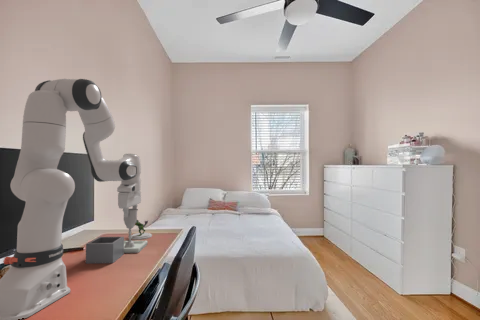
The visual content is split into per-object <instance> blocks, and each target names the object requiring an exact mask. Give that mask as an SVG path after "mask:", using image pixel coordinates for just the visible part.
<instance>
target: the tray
mask: <svg viewBox="0 0 480 320" xmlns="http://www.w3.org/2000/svg"><path fill="white" fill-rule="evenodd" d="M128 241H129V240H124V246H125V244H126V242H128ZM132 241H133V242H134V245H135V247H133V248H124V254H135V253H136V254H138V253H140V252H141V251H142V250H144V249H145V247H147V245H148V240H132Z"/></svg>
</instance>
